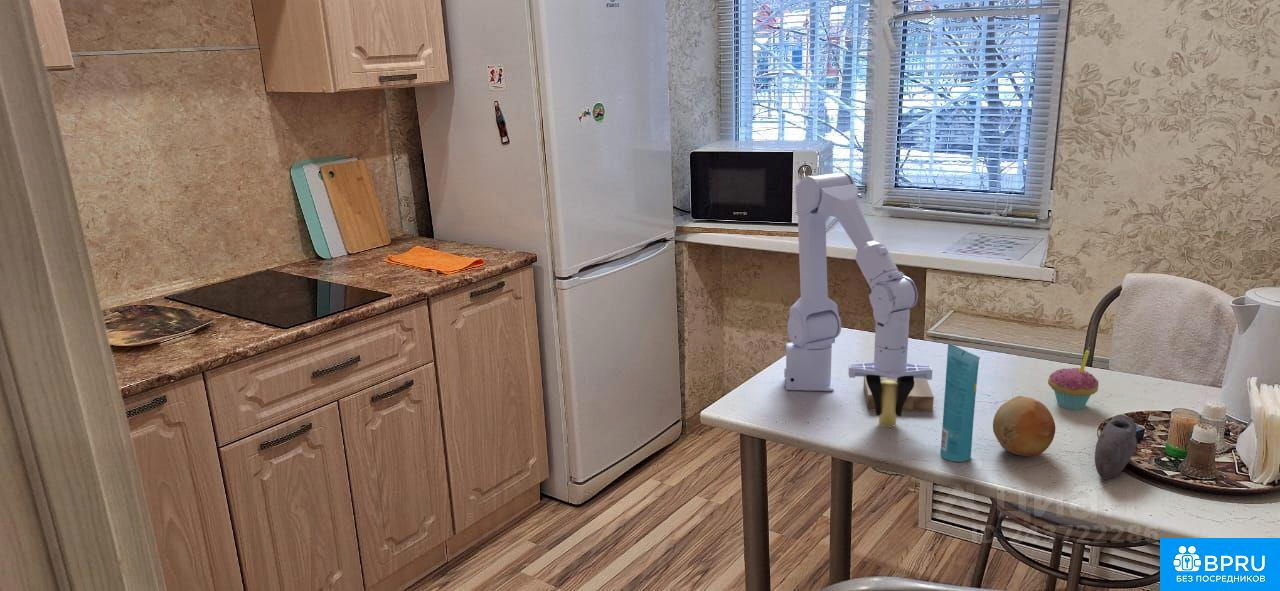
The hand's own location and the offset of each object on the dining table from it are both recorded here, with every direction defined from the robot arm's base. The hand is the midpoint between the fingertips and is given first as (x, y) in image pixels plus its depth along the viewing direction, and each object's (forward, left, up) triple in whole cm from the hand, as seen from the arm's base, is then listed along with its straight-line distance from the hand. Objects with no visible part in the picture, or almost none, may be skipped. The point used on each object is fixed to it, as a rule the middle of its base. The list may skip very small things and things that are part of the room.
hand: (887, 413), depth 161 cm
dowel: (0, 0, -2) cm, 2 cm away
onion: (+21, -10, -2) cm, 23 cm away
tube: (+10, -12, -2) cm, 16 cm away
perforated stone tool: (+34, -14, -2) cm, 37 cm away
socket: (+3, +11, -2) cm, 12 cm away
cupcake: (+35, +11, -2) cm, 37 cm away
